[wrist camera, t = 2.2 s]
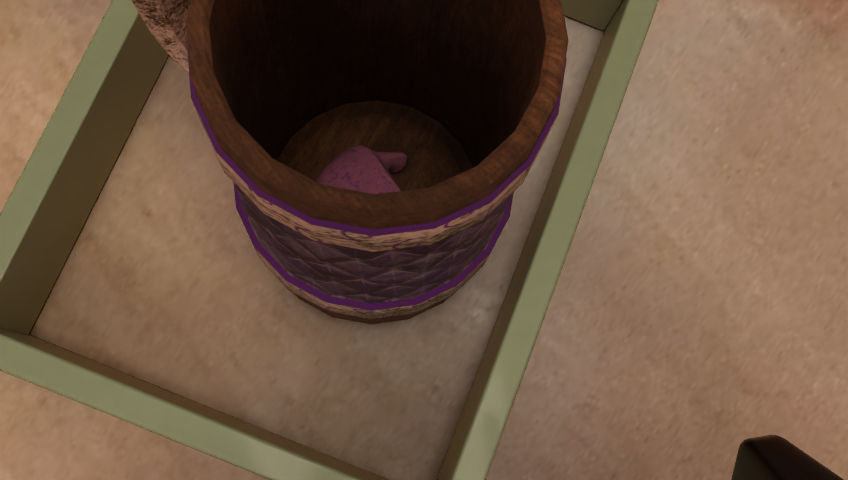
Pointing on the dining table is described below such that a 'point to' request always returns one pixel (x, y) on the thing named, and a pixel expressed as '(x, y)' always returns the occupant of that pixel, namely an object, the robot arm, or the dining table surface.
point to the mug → (371, 133)
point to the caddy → (205, 427)
